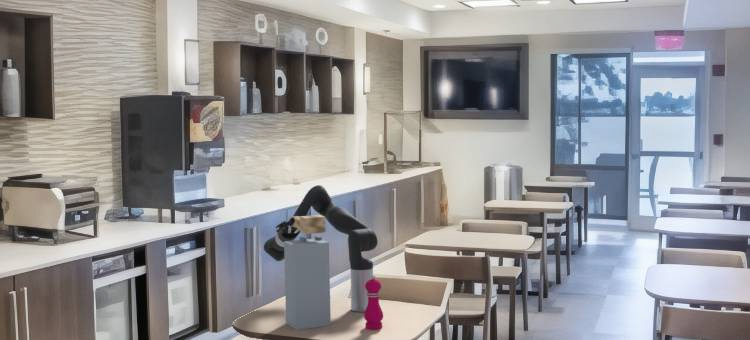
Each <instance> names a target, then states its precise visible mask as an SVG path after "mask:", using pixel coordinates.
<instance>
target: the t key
mask: <svg viewBox="0 0 750 340" xmlns="http://www.w3.org/2000/svg"><path fill="white" fill-rule="evenodd" d="M292 217H294V220H295V222H294V224H293V225H292V227H295V228H298V229H300V233H301V234H305V235H311V234H321V233H323V234H324V233H326V231H327V229H326V218H325V216H322V215H321V214H311V215H307V216H300V217H299V216H293V215H292V216H289V217H288V221H289V220H290V219H291V218H292Z"/></svg>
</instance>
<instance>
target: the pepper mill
mask: <svg viewBox="0 0 750 340" xmlns="http://www.w3.org/2000/svg"><path fill="white" fill-rule="evenodd" d="M365 288H366V290H367V291H368V292H367V296H368V305H367V308H366V310H365V312H364V314H363V319H364V320H365V321H366V322H365V329H367V330H372V331H373V330H380V329H382V328H383V322H382V321H383V319H384V312H383V310H382V307H381V305H380V302H379V301H380V300H379V299H380V296H381V295H380V293H381V292H380V290H381V289H382V283H381V281H380V280H378V279H376V275H374V274H373V275H372V276H371V279H370V280H368V281H367V282H366V284H365Z"/></svg>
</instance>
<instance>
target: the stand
mask: <svg viewBox="0 0 750 340" xmlns="http://www.w3.org/2000/svg"><path fill="white" fill-rule="evenodd" d="M330 272H331V271H330V242H329V241H327V240H323V237H322V236H320V235H314V238H309V239H308V238H306V237H303V236H299V239H297V240H296V239H295V240H294V241H285V242H284V285H285V287H284V288H285V289H284V290H285V295H284V296H285V324H286V325H287V326H289V327H290V328H292V329H294V330H295V331H301V330H307V329H314V328H321V327H329V326H331V325H332V324H331V323H332V322H331V321H332V320H331V319H332V318H331V317H332V316H331V284H330V283H331V282H330V280H331V279H330Z"/></svg>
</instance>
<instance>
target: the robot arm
mask: <svg viewBox="0 0 750 340" xmlns="http://www.w3.org/2000/svg"><path fill="white" fill-rule="evenodd" d="M311 208H312V209H313V210H314V211H315V212H316V213H318V215H321V216H325V220H326V221H327V222H328V223H329V225H331V226H332V228H333V229H335V230H336V231H337V232H339V233H341V234H345V235H348V236H347V246H348V260H349V261H348V262H349V266H350V267H349V268H350V309H351V311H353V312H357V313H363V312H364V313H365V310H366V308H367V305H368V296H367V292H368V291H367V290H366V288H365V284H366V282H367V281H368V280H370V279H371V276H372V275H374V263H373V261H372V260H370V259H369V258H364V257H363V256H362V255H363V254H362V253H363V252H370V251H374V250H375V249H376V247H377V246H378V241H379V240H378V236H377V235H376V233H375V231H374V230H373V229H372V228H370V226H367V225H366V224H364V223H363V222H361V221H360V220H359V219H357V218H356V217H355V216H354V215H353V214H352V213H350V211H348V209H346V208H345V207H343V206H339V205H338V206H337V205H336V204H335V202H334V201H333V199H332V197H330V195H329V193H328V192H327V190H326V188H325V187H324V186H323V185H320V184H319V185H314V186H313V187H311V188H310V189H309V190H308V191H307V192H306V194H305V196H304V197H303V199H302V200H301V202H300V204H299V206H298V207H297V209H296V210H295V212H294V214H293V215H292V216H299V217H300V216H308V213H309V211H310V209H311ZM294 222H295V220H294V217H292V218H291V219H290V220H289V219H288V220H287V221H282V222H280V223H279V224H277V225H276V226H275V229H276V230H275V231H276V235H274V236H272V237H270V238H268V239H267V240H266V241H265V242H264V243H263V251H264V252H265V253H266V254H268V255H269V256H270V257H271V258H273V259H274V260H275V261H276V262H282V261H283V260H285V258H284V242H285V241H296V238H298V236H299V235H300V233H301V232H300V229H298V228H295V227H292V225H293V224H294Z"/></svg>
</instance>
